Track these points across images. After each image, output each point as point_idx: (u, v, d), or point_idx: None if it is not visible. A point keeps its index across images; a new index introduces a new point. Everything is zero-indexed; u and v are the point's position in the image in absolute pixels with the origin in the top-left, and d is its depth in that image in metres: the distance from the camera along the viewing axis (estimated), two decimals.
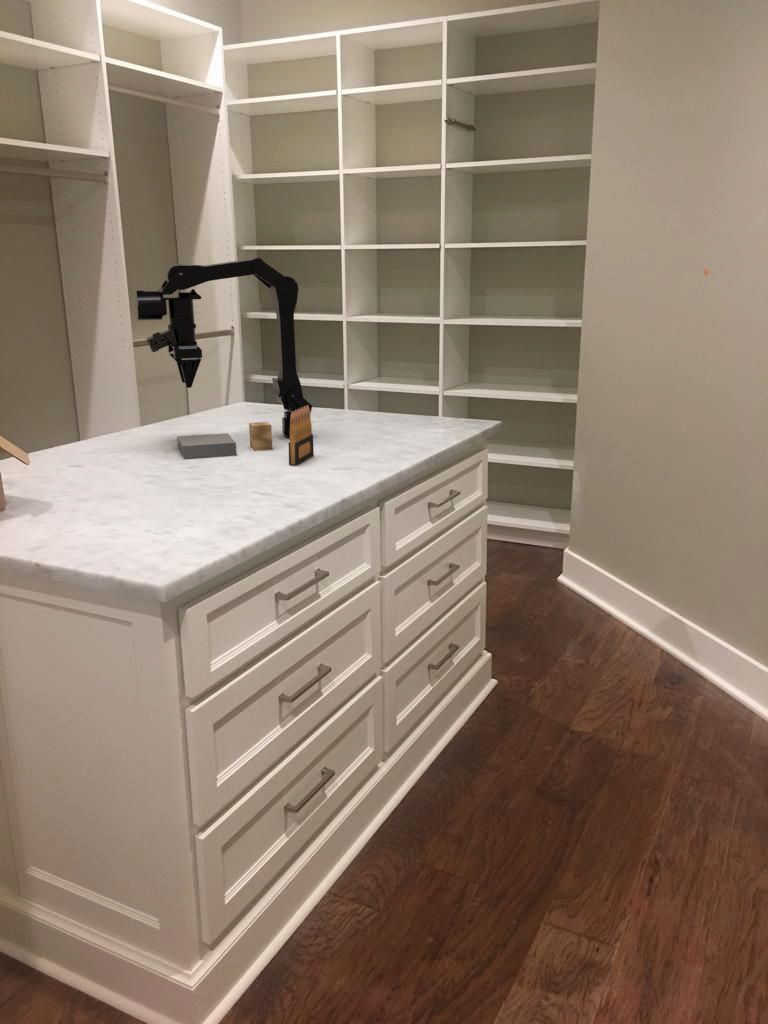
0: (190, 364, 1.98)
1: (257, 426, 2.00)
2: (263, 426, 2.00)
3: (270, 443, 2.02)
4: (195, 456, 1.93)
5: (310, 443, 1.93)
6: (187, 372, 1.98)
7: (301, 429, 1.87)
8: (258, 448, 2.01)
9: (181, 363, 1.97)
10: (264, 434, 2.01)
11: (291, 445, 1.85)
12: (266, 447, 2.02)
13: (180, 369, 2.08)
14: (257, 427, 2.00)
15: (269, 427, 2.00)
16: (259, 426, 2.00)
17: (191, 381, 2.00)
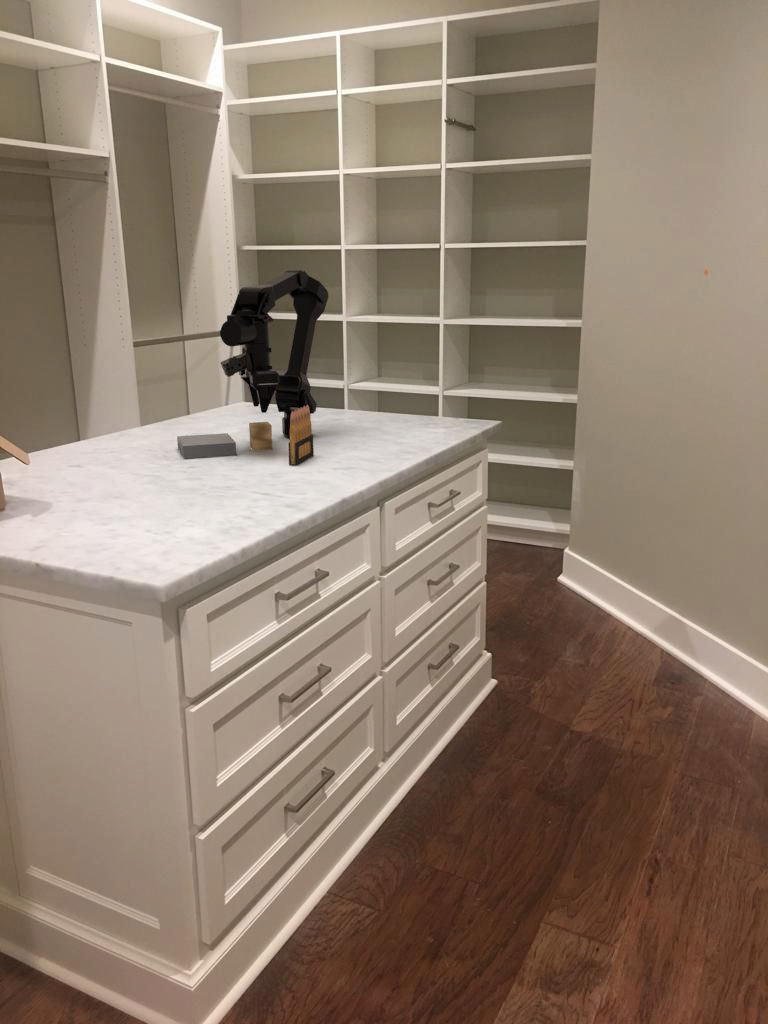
0: (266, 389, 1.94)
1: (257, 426, 2.00)
2: (263, 426, 2.00)
3: (270, 443, 2.02)
4: (195, 456, 1.93)
5: (310, 443, 1.93)
6: (263, 397, 1.95)
7: (301, 429, 1.87)
8: (258, 448, 2.01)
9: (257, 388, 1.93)
10: (264, 434, 2.01)
11: (291, 445, 1.85)
12: (266, 447, 2.02)
13: (252, 393, 2.04)
14: (257, 427, 2.00)
15: (269, 427, 2.00)
16: (259, 426, 2.00)
17: (266, 406, 1.96)
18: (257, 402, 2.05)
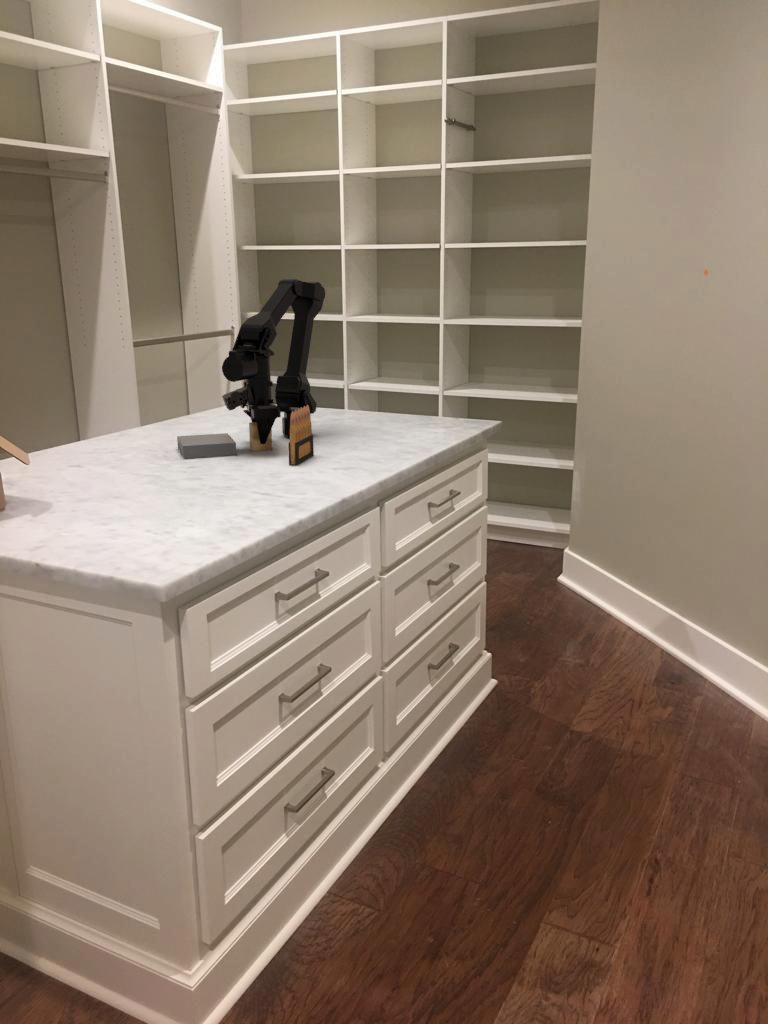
0: (265, 421, 1.98)
1: None
2: None
3: (270, 443, 2.02)
4: (195, 456, 1.93)
5: (310, 443, 1.93)
6: (262, 429, 1.99)
7: (301, 429, 1.87)
8: (258, 448, 2.01)
9: (257, 420, 1.97)
10: None
11: (291, 445, 1.85)
12: (266, 447, 2.02)
13: None
14: None
15: None
16: None
17: (265, 437, 2.00)
18: None
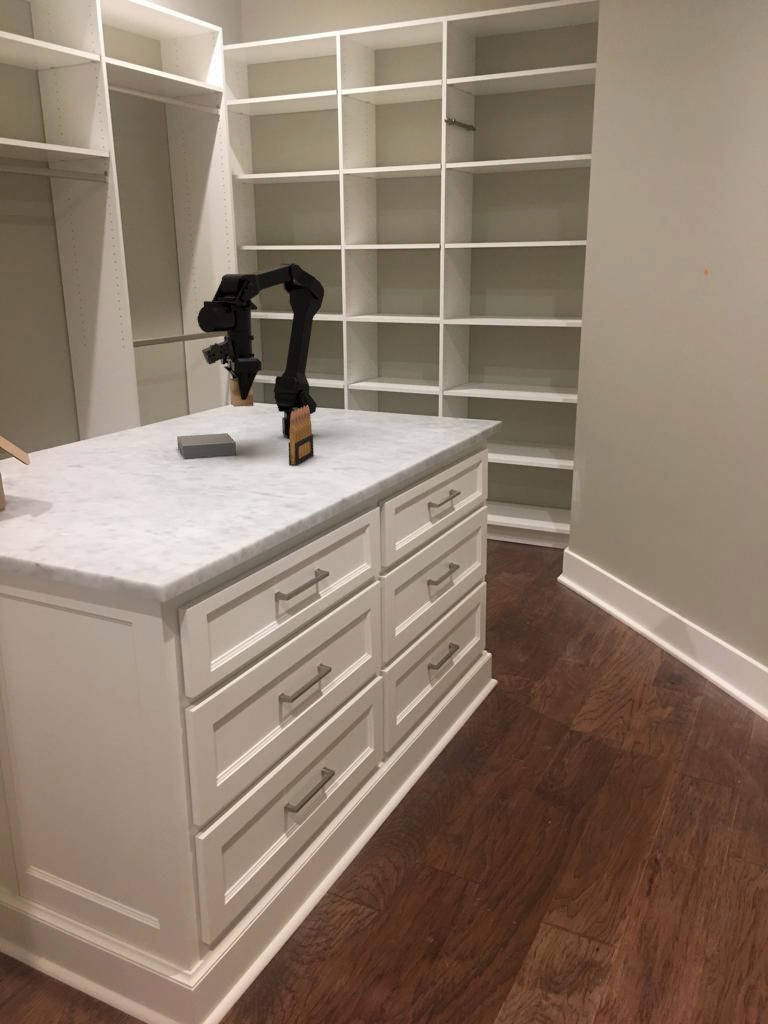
0: (246, 376, 1.94)
1: None
2: None
3: (251, 399, 1.97)
4: (195, 456, 1.93)
5: (310, 443, 1.93)
6: (243, 384, 1.94)
7: (301, 429, 1.87)
8: (239, 404, 1.96)
9: (237, 375, 1.92)
10: None
11: (291, 445, 1.85)
12: (247, 403, 1.97)
13: None
14: None
15: None
16: None
17: (246, 393, 1.96)
18: None
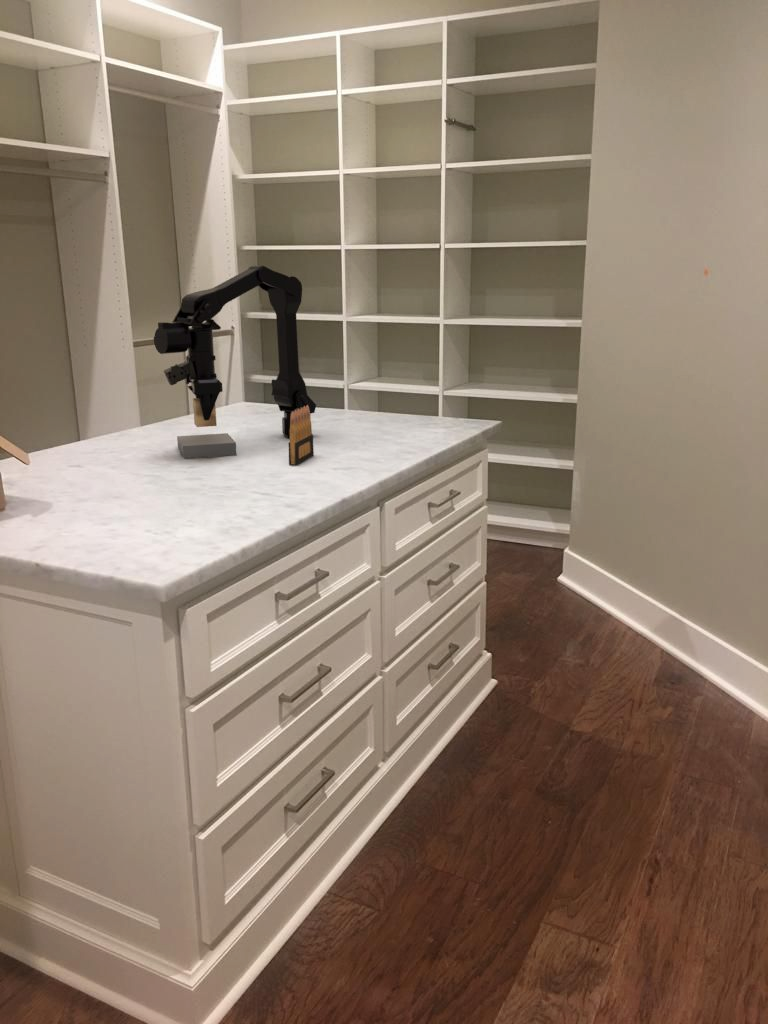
0: (208, 396, 1.92)
1: None
2: None
3: (214, 419, 1.96)
4: (195, 456, 1.93)
5: (310, 443, 1.93)
6: (205, 404, 1.93)
7: (301, 429, 1.87)
8: (201, 424, 1.95)
9: (199, 396, 1.91)
10: None
11: (291, 445, 1.85)
12: (209, 423, 1.96)
13: None
14: None
15: None
16: None
17: (209, 414, 1.94)
18: None
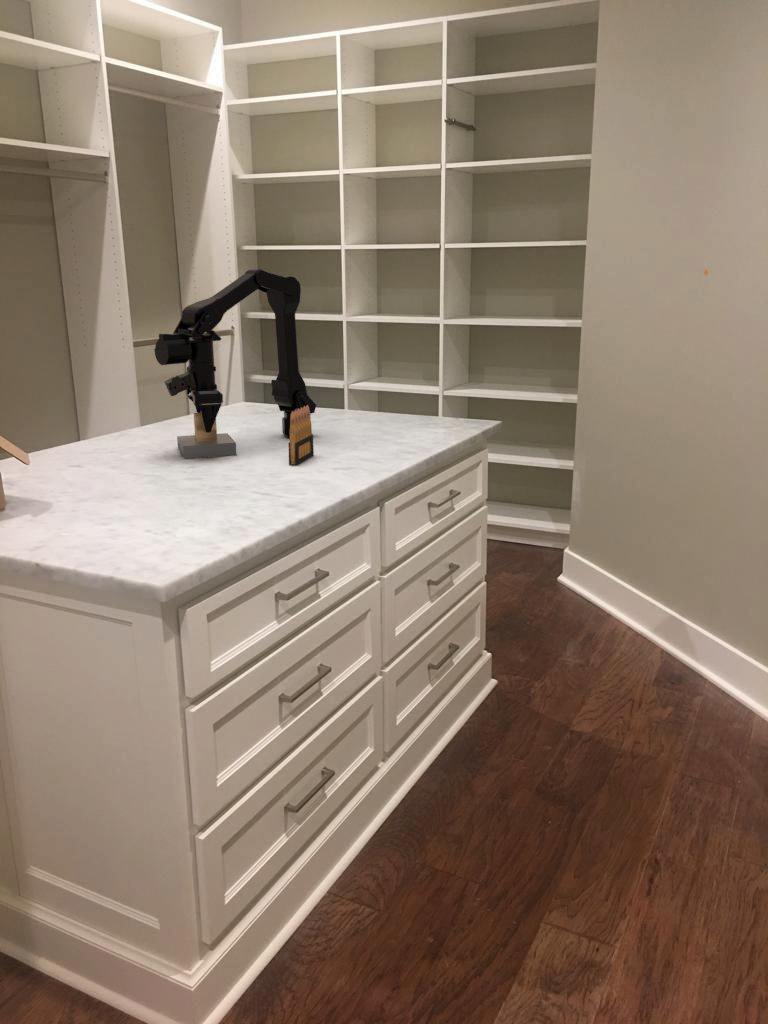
0: (209, 408, 1.91)
1: (201, 416, 1.95)
2: None
3: (215, 434, 1.97)
4: (195, 456, 1.93)
5: (310, 443, 1.93)
6: (207, 417, 1.92)
7: (301, 429, 1.87)
8: (202, 439, 1.96)
9: (201, 408, 1.90)
10: None
11: (291, 445, 1.85)
12: (210, 438, 1.97)
13: (198, 412, 2.01)
14: (201, 418, 1.95)
15: None
16: None
17: (211, 426, 1.93)
18: None
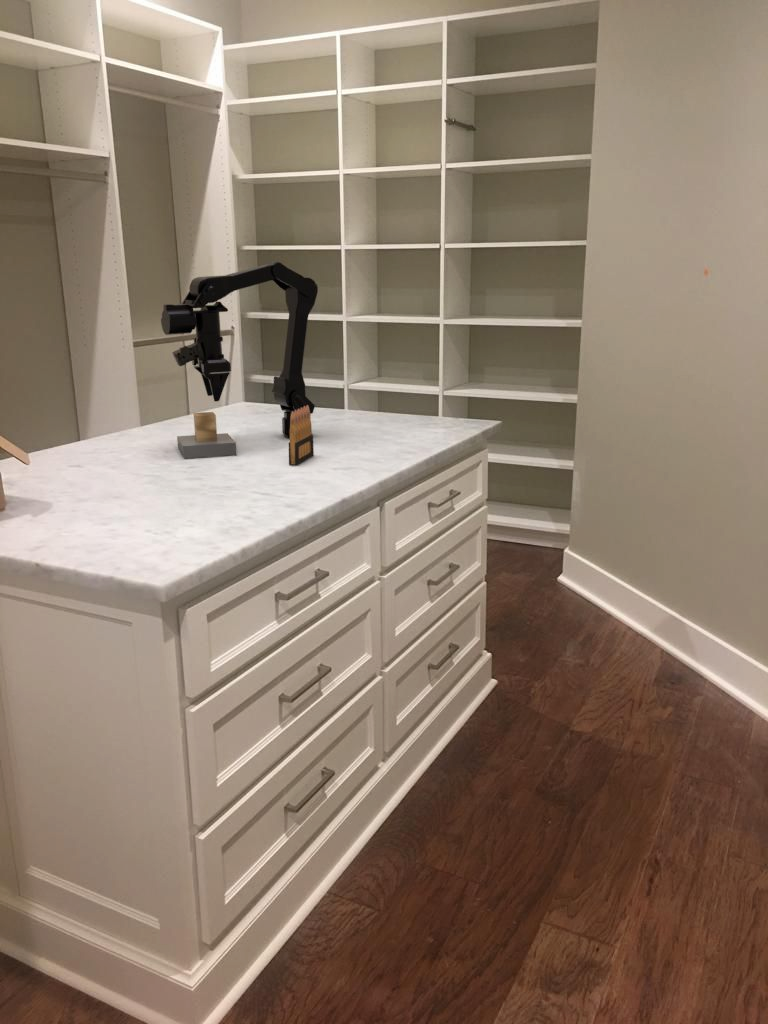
0: (218, 378, 1.96)
1: (201, 416, 1.95)
2: (207, 416, 1.95)
3: (215, 434, 1.97)
4: (195, 456, 1.93)
5: (310, 443, 1.93)
6: (215, 386, 1.97)
7: (301, 429, 1.87)
8: (202, 439, 1.96)
9: (209, 377, 1.95)
10: (209, 424, 1.96)
11: (291, 445, 1.85)
12: (210, 438, 1.97)
13: (205, 382, 2.06)
14: (201, 418, 1.95)
15: (213, 417, 1.95)
16: (203, 416, 1.95)
17: (219, 395, 1.98)
18: (211, 391, 2.07)
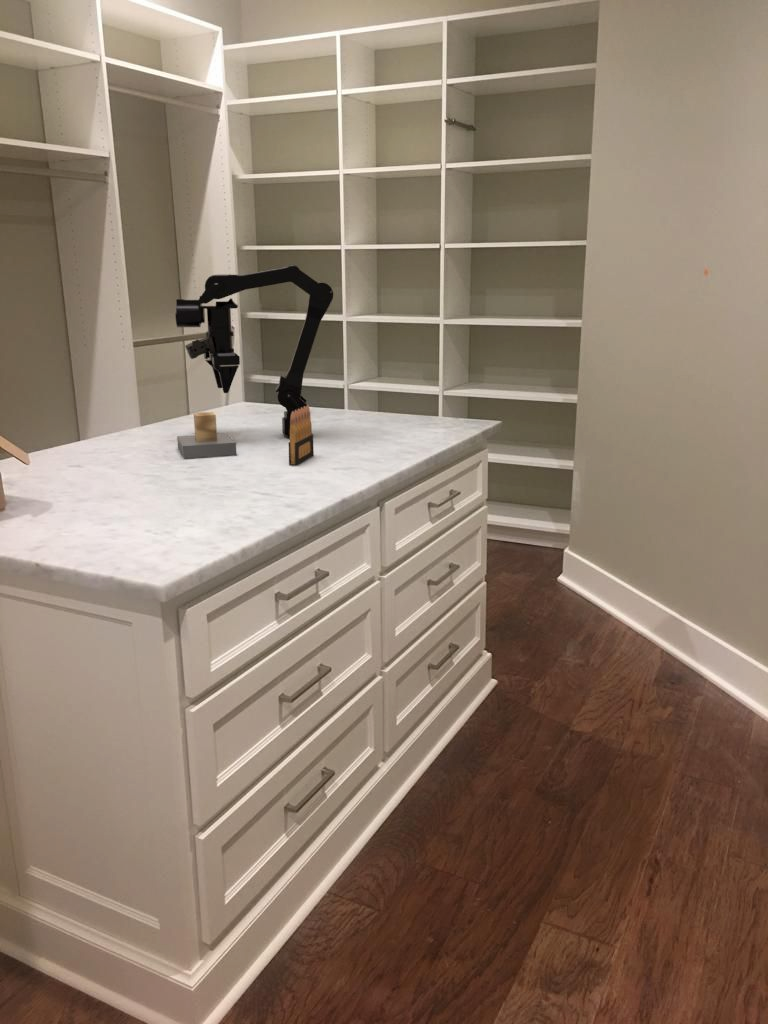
0: (227, 370, 2.06)
1: (201, 416, 1.95)
2: (207, 416, 1.95)
3: (215, 434, 1.97)
4: (195, 456, 1.93)
5: (310, 443, 1.93)
6: (224, 378, 2.06)
7: (301, 429, 1.87)
8: (202, 439, 1.96)
9: (219, 369, 2.04)
10: (209, 424, 1.96)
11: (291, 445, 1.85)
12: (210, 438, 1.97)
13: (216, 375, 2.16)
14: (201, 418, 1.95)
15: (213, 417, 1.95)
16: (203, 416, 1.95)
17: (228, 387, 2.08)
18: (221, 384, 2.16)
